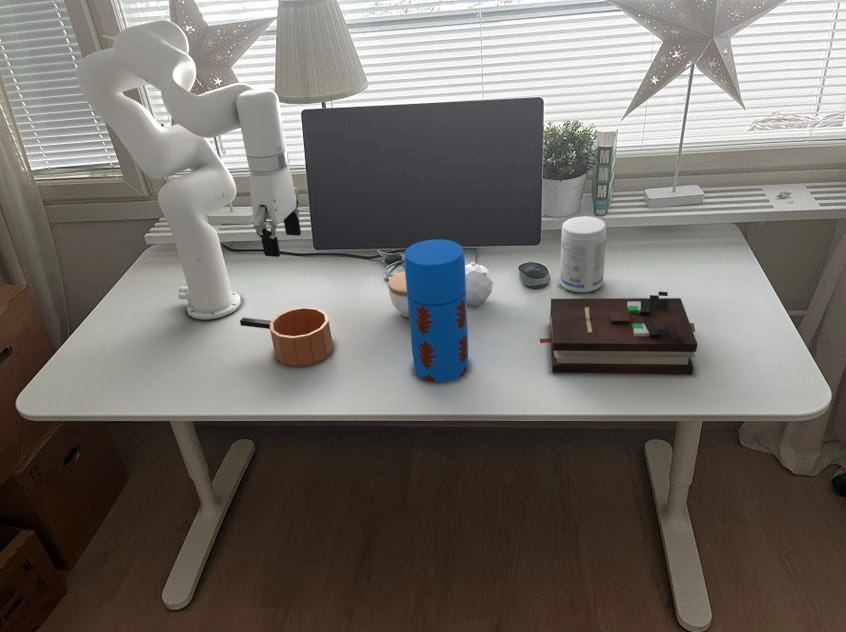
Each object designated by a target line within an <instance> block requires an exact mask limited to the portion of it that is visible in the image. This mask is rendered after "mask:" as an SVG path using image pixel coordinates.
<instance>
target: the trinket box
mask: <svg viewBox="0 0 846 632" xmlns="http://www.w3.org/2000/svg"><path fill="white" fill-rule="evenodd" d="M387 287H388V292H389V297H390V300H391V303H392V305H393V307H394V308H395V310H396V311H398V312H399V313H400V314H401V315H402V316H403V317H405V318H408V319H409V311H408V300H407V289H406V278H405V270H402V271H400V272H396V273H395V274H393V275H392V276H391V277H390V278H389V279H388V281H387Z"/></svg>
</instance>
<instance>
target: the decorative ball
mask: <svg viewBox="0 0 846 632" xmlns="http://www.w3.org/2000/svg"><path fill="white" fill-rule="evenodd" d="M465 276H466V303H467V305H473V306H476V305H479V304H481V303H483V302H486V301H487V300H488V298H489V296H490V295H491V294H492V292H493V287H494V283H495V282H494V279H493V277H492V275H491V272H490V270H489V269H487V268H486V267H485V266H483V265H481V264H477V263H476V262H475V261H472V262H471V263H469V264H465Z"/></svg>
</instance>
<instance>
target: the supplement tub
mask: <svg viewBox="0 0 846 632" xmlns="http://www.w3.org/2000/svg"><path fill="white" fill-rule="evenodd" d="M560 241H561V242H560V275H559V276H560V284H561V286H562V287H563V288H564V289H566V290H567V291H570V292H573V293H574V292H575V293H590V292H593V291H595V290H598V289H599V288H601V286H602V285H603V284H604V274H605V273H604V272H605V258H606V242H607V224H606V222H605V221H604V220H602V219H600V218H599V217H595V216H576V217H572V218H569V219H567V220H565V221H563V223H562V228H561V240H560Z"/></svg>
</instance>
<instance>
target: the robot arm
mask: <svg viewBox="0 0 846 632" xmlns="http://www.w3.org/2000/svg"><path fill="white" fill-rule="evenodd" d="M189 48H190V47H189V41H188V38H187V36H186V34H185V32H184V31H183V29H181V28H180V26H179V25H177V24H176V23H174V22H173V21H170V20H167V19H159V20H155V21H150V22H145V23H141V24H137V25H132V26H129V27H126V28H124V29H122V30H121V31H120V32H119V33H117V35H116V36H115V37H114V41H113V45H112V47H110V48H105V49H101V50H98V51H94V52H92V53H90V54H88V55H86V56H85V57H83V58H82V59H81V60H79V62H78V63H77V66H76V72H75V73H76V80H77V84H78V87H79V89H80V91H81V94H82V95H83V97H84V99H85V101H86V102H87V104H88V105H89V106H90V108H91V109H92V110H93V112H95V113H96V114H97V116H99V118H101V119H102V120H103V121H104V122H105V123H106V125H108V126H109V127H110V129H112V131H113V132H114V133H115V135H116V136H117V137H118V139H119V140H120V142H121V143H122V145H123V146H124V147H125V149H126V150H127V152H128V153H129V154H130V157H132V159H133V160H134V161H135V163H136V164H137V167H139V168H140V170H141V171H142V172H143V174H144V175H146V177H148V178H149V179H152V180H154V181H155V180H162V179H165V178H169V177H171V176H173V175H177V174H178V173H181V172H183V171H186V170H190V172H187V173H185V174H182V175H179V176H177V177H175V178H173V179H170V180H169V181H167V182H166V183H164V184H163V185H162V186H161V187H160V189H159V191H158V193H157V203H158V205H159V209H160V211H161V212H162V215H163V216H164V219H165V220H166V222H167V225H168V228H169V231H170V233H171V235H172V238H173V241H174V244H175V248H176V252H177V255H178V258H179V261H180V266H181V269H182V273H183V276H184V280H185V284H186V286H183V285H182V286H180V287H179V289H178V294H177V297H178V299H180V300H181V299H182V300H186V301H187V305H186V312H187V314H188V316H189V317H191V318H193V319H197V320H204V321H205V320H214V319H219V318H223V317H225V316H228V315H229V314H232V313H233V312H235V311H236V310H237V309H238V308H239V307H240V306H241V303H242V300H241V295H239V293H237V292H235V291H233V290H232V286H231V282H230V278H229V274H228V271H227V267H226V263H225V258H224V255H223V251H222V246H221V242H220V238H219V235H218V233H217V231H216V230H215V228H214V227H213V226H212V225H211V224H209V223H208V222H207V221H206V219H205V217H207V216H208V215H210V214H211V213H214V212H215V211H218V210H220V209H222V208H225V207H226V206H228V205H230V204H231V203H232V202H233V201H234V200H235V199H236V196H237V186H236V182H235V179H234V178H233V176H232V174H231V172H230V171H229V170H228V168H227V166H226V165H225V164H224V162H223V161H222V159H221V157H220V156H219V155H218V153H217V152H216V150H215V148H213V146H212V145H211V143H210V141H209V140H208V139H213V138H217V137H219V136H221V135H225V134H227V133H229V132H232V131H235V130H238V129H240V131H241V134H242V135H241V136H242V141H243V147H244V151H245V156H246V161H247V165H248V166H247V167H248V171H249V175H248V176H249V178H248V179H249V195H250V203H251V210H252V216H253V223H252V227H253V228H254V230H255V231H256V234H257V235H258V238H259V239H261V244H262V250H263V254H264V256H265V257H272V258H279V257H280V256H281V251H280V245H279V240H278V236H276V232H277V227H278V225H279V224H281V222H283V224H284V230H285V234H286V235H287V236H296V237H299V236H301V235H302V230H301V224H300V223H301V222H300V219H299V218H300V217H299V214H300V211H299V208H298V207H299V190H298V188H296V187H295V186H294V181H293V176H292V172H291V169H290V160H289V155H288V147H287V143H286V142H287V141H286V137H285V130H284V124H283V118H282V112H281V106H280V101H279V96H278V95H277V93H276V92H275V91H273V90H272V89H269V88H256V87H254V86H251V85H249V84H247V83H243V82H238V83H232V84H229V85H226V86H223V87H219V88H216V89H213V90H209V91H206V92H203V93H200V94H195V93H193V92H191V90H192V88H193V86H194V84H195V81H196V79H197V77H196V76H197V68H196V63H195V62H194V59H193V58H192V57H191V56H190V55H189V53H190V51H189V50H190V49H189ZM148 85H151V86H153V87H154V88H156V89H157V90H159V91H160V93H161V99H162V102H163V105H164V107H165V109H166V111H167V112H168V114H169V116H170V118H172V120H173V121H174V122H175V124H173V125H170V126H167V127H162V126H161V125H160V124H159V123H158V122H157V120H155V118H154V116H153V115H152V113H151V112H150V111H149V110H148V108H146V107H145V106H144V105H142V104H141V103H140V102H138V101H136V100H135V99H133V98H130V97H128V96H126V95H125V94H124V92H127V91H130V90H134V89H138V88H140V87H145V86H148ZM267 220H268V221H267ZM267 227H270V229H268V228H267Z"/></svg>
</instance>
